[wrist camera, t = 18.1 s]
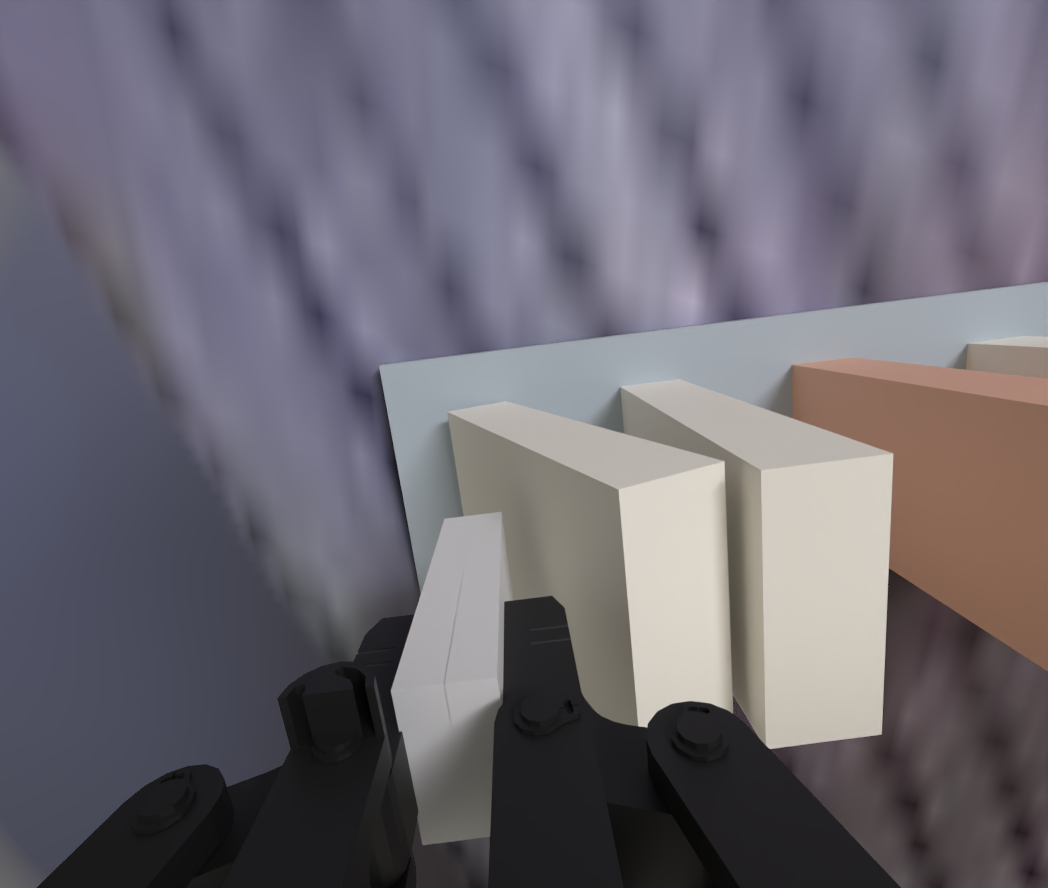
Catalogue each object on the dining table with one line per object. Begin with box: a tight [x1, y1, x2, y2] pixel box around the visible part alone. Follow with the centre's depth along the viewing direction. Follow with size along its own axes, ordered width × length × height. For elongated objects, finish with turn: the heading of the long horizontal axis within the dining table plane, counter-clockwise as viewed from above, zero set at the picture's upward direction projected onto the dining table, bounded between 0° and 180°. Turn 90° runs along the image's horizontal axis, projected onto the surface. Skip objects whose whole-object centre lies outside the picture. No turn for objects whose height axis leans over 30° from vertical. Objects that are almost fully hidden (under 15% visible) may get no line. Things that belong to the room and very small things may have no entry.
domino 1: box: [620, 379, 893, 749], centre depth 16 cm, size 2×6×12 cm, turn 7°
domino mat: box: [379, 281, 1048, 593], centre depth 22 cm, size 35×10×1 cm, turn 97°
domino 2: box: [792, 357, 1048, 671], centre depth 16 cm, size 2×6×12 cm, turn 7°
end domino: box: [447, 401, 733, 727], centre depth 16 cm, size 2×6×12 cm, turn 6°
